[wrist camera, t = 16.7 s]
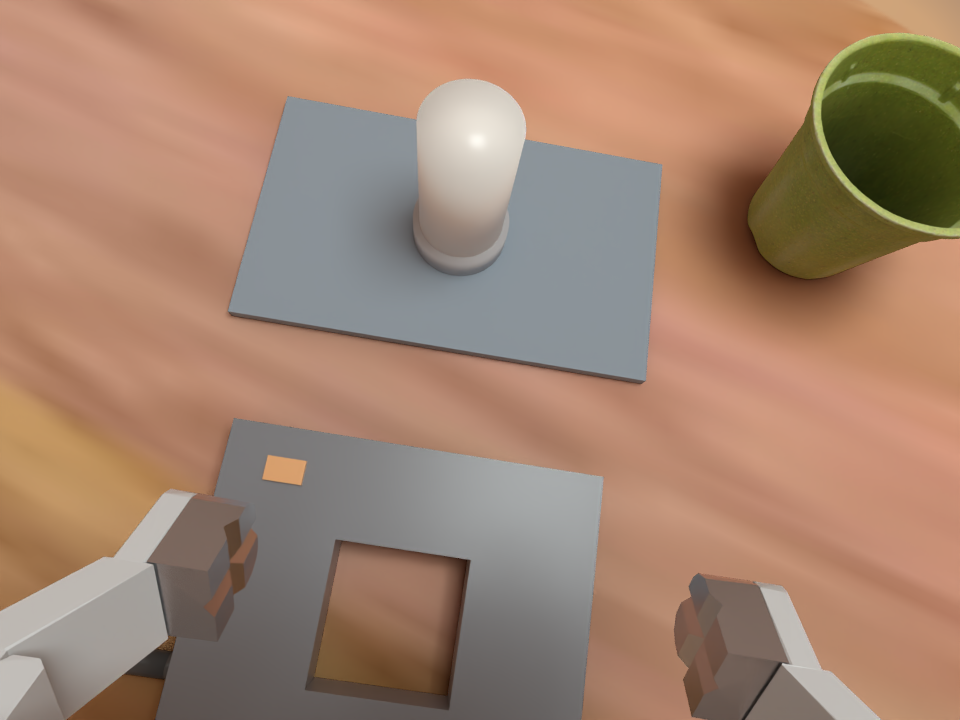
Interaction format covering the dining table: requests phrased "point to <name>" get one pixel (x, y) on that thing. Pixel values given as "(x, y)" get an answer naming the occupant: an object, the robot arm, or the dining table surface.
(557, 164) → the rubber mat
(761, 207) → the plant pot
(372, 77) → the dining table surface
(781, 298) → the dining table surface
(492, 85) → the white rounded cylinder
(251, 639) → the grey square frame
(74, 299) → the dining table surface
